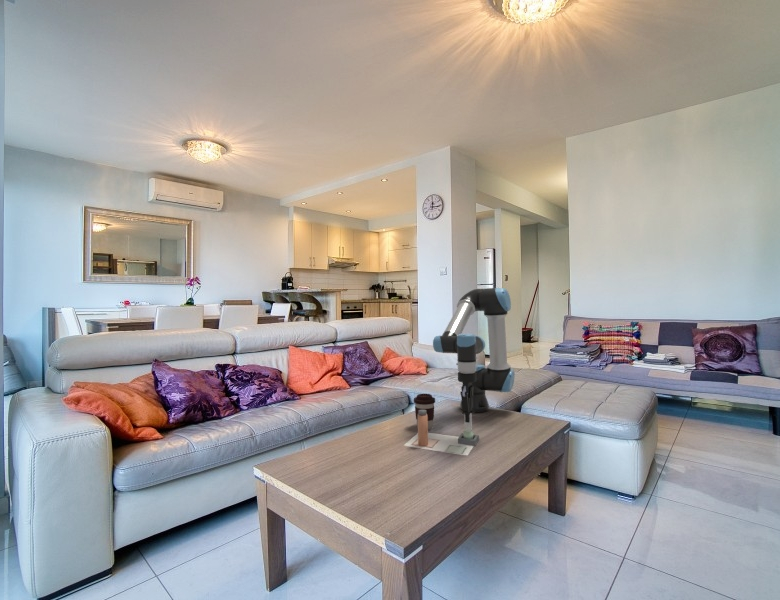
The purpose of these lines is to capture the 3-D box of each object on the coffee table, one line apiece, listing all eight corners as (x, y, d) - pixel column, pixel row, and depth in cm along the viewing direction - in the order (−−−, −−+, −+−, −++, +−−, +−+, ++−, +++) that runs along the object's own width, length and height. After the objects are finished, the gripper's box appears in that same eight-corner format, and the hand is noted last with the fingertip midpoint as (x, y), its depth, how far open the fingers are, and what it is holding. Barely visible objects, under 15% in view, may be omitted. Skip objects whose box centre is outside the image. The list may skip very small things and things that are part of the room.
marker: (420, 442, 155) (419, 408, 155) (429, 443, 153) (428, 409, 154) (416, 445, 151) (416, 411, 152) (426, 446, 150) (425, 412, 150)
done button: (464, 437, 157) (464, 429, 157) (474, 438, 155) (474, 431, 156) (462, 440, 154) (462, 432, 154) (472, 442, 152) (472, 434, 152)
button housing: (462, 437, 159) (462, 433, 159) (479, 440, 156) (478, 435, 156) (457, 443, 153) (457, 438, 153) (475, 445, 150) (475, 440, 150)
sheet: (419, 432, 168) (419, 431, 168) (478, 440, 157) (478, 439, 157) (403, 446, 152) (403, 445, 152) (467, 456, 141) (467, 455, 141)
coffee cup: (435, 424, 179) (434, 392, 179) (436, 431, 169) (435, 397, 169) (414, 424, 180) (413, 392, 180) (413, 431, 170) (413, 397, 170)
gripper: (462, 368, 162) (463, 423, 162) (453, 373, 151) (454, 433, 150) (479, 369, 159) (480, 425, 159) (472, 375, 147) (473, 435, 147)
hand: (468, 429), depth 155 cm, fingers closed
